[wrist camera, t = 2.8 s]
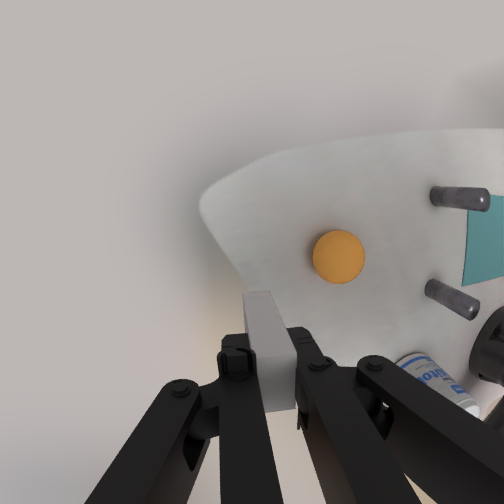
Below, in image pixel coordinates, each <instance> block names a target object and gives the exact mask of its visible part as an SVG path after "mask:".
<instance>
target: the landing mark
mask: <svg viewBox="0 0 504 504" xmlns="http://www.w3.org/2000/svg"><path fill="white" fill-rule="evenodd" d="M490 198H491V203H490V207H489V210H488V211H487V212H480V211H473V210H468V222H467V242H466V254H465V264H464V273H463V280H462V286H466V285H470V284H474V283H478V282H482V281H486V280H490V279H494V278H498V277H501V276H504V196H495V195H490Z"/></svg>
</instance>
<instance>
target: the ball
mask: <svg viewBox="0 0 504 504" xmlns="http://www.w3.org/2000/svg"><path fill="white" fill-rule="evenodd" d="M364 262H365V253H364V248H363V246H362V244H361V242H360V241H359V240H358V238H357V237H355V236H354V235H353V234H351V233H349V232H346V231H342V230H336V231H331V232H328V233H326V234H325V235H323V236H322V237H321V238H320V239H319V240H318V241H317V243H316V245H315V247H314V250H313V264H314V267H315V269H316V271H317V273H318V274H319V275H320V276H321V277H322V278H323V279H324V280H326V281H328V282H330V283H334V284H343V283H347V282H349V281H351V280H353V279H354V278H356V277H357V276H358V275H359V273H360V272H361V270H362V268H363V266H364Z"/></svg>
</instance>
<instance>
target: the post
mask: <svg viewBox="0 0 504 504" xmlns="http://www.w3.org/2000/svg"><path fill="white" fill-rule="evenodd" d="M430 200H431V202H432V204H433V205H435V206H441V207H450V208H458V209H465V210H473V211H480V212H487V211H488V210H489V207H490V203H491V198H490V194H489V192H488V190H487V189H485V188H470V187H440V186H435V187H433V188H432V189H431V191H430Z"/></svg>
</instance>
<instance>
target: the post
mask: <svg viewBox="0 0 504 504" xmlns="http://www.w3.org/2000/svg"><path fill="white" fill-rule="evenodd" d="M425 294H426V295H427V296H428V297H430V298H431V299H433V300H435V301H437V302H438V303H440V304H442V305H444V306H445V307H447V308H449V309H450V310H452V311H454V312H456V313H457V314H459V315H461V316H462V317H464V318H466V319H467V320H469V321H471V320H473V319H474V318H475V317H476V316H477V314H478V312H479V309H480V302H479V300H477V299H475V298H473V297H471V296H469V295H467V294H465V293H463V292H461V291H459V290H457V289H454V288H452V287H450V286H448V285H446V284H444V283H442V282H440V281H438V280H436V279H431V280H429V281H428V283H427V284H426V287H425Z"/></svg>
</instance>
